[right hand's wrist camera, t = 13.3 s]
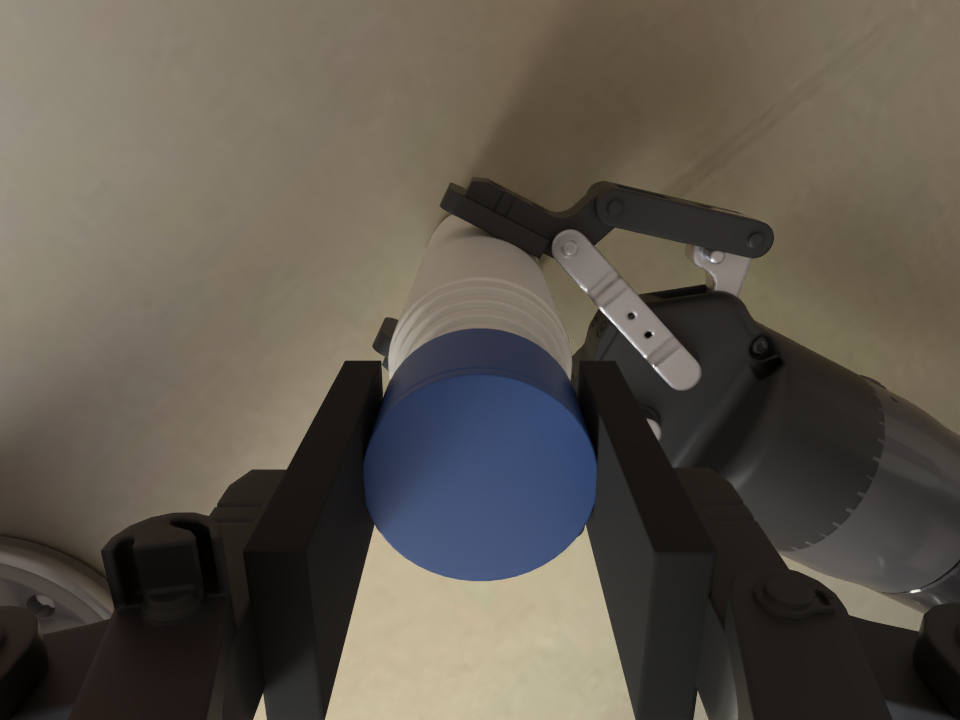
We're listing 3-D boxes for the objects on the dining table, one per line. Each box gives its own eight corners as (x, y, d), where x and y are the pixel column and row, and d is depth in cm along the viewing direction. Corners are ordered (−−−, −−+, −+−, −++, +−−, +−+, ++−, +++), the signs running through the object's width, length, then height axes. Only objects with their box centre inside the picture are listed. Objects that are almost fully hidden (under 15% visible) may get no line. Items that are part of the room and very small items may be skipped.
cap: (577, 321, 14) (598, 366, 11) (580, 500, 15) (599, 575, 13) (370, 333, 14) (346, 381, 11) (392, 511, 15) (376, 587, 13)
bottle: (510, 327, 31) (548, 605, 14) (411, 291, 30) (319, 533, 13) (551, 229, 29) (654, 402, 12) (447, 189, 29) (398, 309, 11)
